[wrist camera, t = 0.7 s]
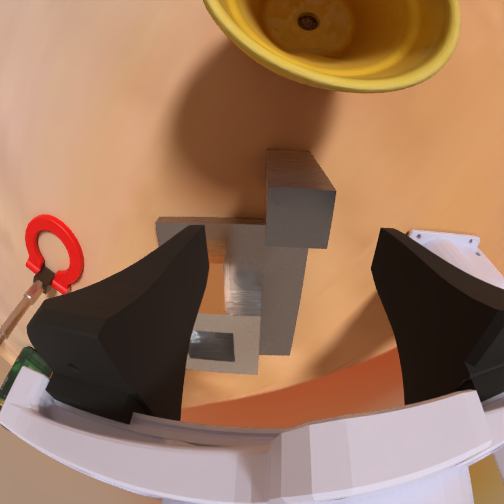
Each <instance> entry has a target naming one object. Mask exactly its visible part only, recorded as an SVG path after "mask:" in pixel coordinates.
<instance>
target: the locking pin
mask: <svg viewBox="0 0 504 504" xmlns="http://www.w3.org/2000/svg"><path fill="white" fill-rule="evenodd" d="M335 196H336V190H335V188H334V187H333V185H332V184H331V182H330V180H329V179H328V177H327V176H326V174H325V173H324V171H323V170H322V169H321V167H320V166H319V164H318V163H317V161H316V160H315V158H314V157H313V155H312V154H311V153H310V151H297V150H279V149H267V164H266V225H265V246H266V247H293V248H318V249H327V245H328V240H329V234H330V228H331V222H332V216H333V210H334V203H335Z"/></svg>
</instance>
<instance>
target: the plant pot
mask: <svg viewBox="0 0 504 504" xmlns="http://www.w3.org/2000/svg"><path fill="white" fill-rule="evenodd" d="M203 2H204V4H205V6H206V9H207V10H208V12H209V14H210V15H211V17H212V18H213V20H214V21H215V22H216V24H217V25H218V26H219V27H220V29H221V30H222V31H223V32H224V34H225V35H226V36H227V37H228V38H229V39H230V40H231V41H232V42H233V43H234V44H235V45H236V46H237V47H238V48H239V49H240V50H241V51H243V52H244V53H245V54H246V55H247V56H249V57H250V58H251V59H253V60H254V61H256V62H257V63H259V64H260V65H262V66H263V67H265V68H267V69H269V70H270V71H272V72H274V73H276V74H278V75H280V76H283V77H285V78H287V79H290V80H292V81H295V82H298V83H301V84H305V85H308V86H312V87H316V88H321V89H326V90H333V91H341V92H351V93H384V92H391V91H397V90H402V89H405V88H409V87H412V86H414V85H417V84H419V83H422V82H424V81H425V80H427V79H429V78H431V77H432V76H433V75H435V74H436V73H437V72H438V71H439V70H440V69H442V68H443V67H444V65H445V64H446V63H447V62H448V60H449V59H450V57H451V56H452V54H453V52H454V49H455V47H456V44H457V42H458V38H459V33H460V9H459V3H458V0H203ZM304 15H308V16H312V17H314V18H315V19H316V21H317V27H316V28H315V29H312V30H305V29H303V28H301V27H300V26H299V24H298V19H299V18H300V17H301V16H304Z"/></svg>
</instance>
